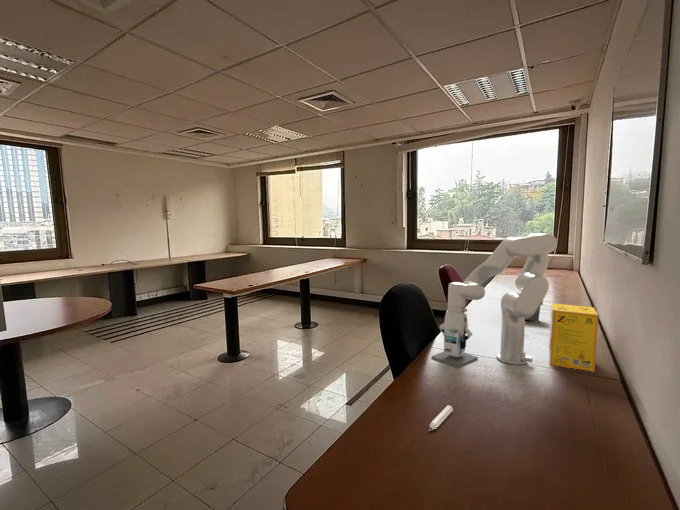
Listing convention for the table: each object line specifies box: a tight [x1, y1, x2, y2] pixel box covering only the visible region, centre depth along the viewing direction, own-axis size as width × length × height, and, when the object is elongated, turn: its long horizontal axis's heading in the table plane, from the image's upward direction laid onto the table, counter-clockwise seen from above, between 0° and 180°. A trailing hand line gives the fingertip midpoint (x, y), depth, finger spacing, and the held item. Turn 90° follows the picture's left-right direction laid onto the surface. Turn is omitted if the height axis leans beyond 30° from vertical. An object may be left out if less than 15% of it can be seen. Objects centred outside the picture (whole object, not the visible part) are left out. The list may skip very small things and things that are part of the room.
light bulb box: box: [443, 330, 467, 357], centre depth 158 cm, size 11×7×11 cm, turn 142°
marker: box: [428, 404, 454, 432], centre depth 107 cm, size 3×2×16 cm
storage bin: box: [525, 300, 544, 322], centre depth 227 cm, size 21×16×14 cm
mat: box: [431, 351, 479, 369], centre depth 158 cm, size 14×16×1 cm
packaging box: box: [548, 303, 599, 373], centre depth 153 cm, size 16×16×25 cm
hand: (454, 346), depth 158 cm, fingers closed on light bulb box, 7 cm apart
